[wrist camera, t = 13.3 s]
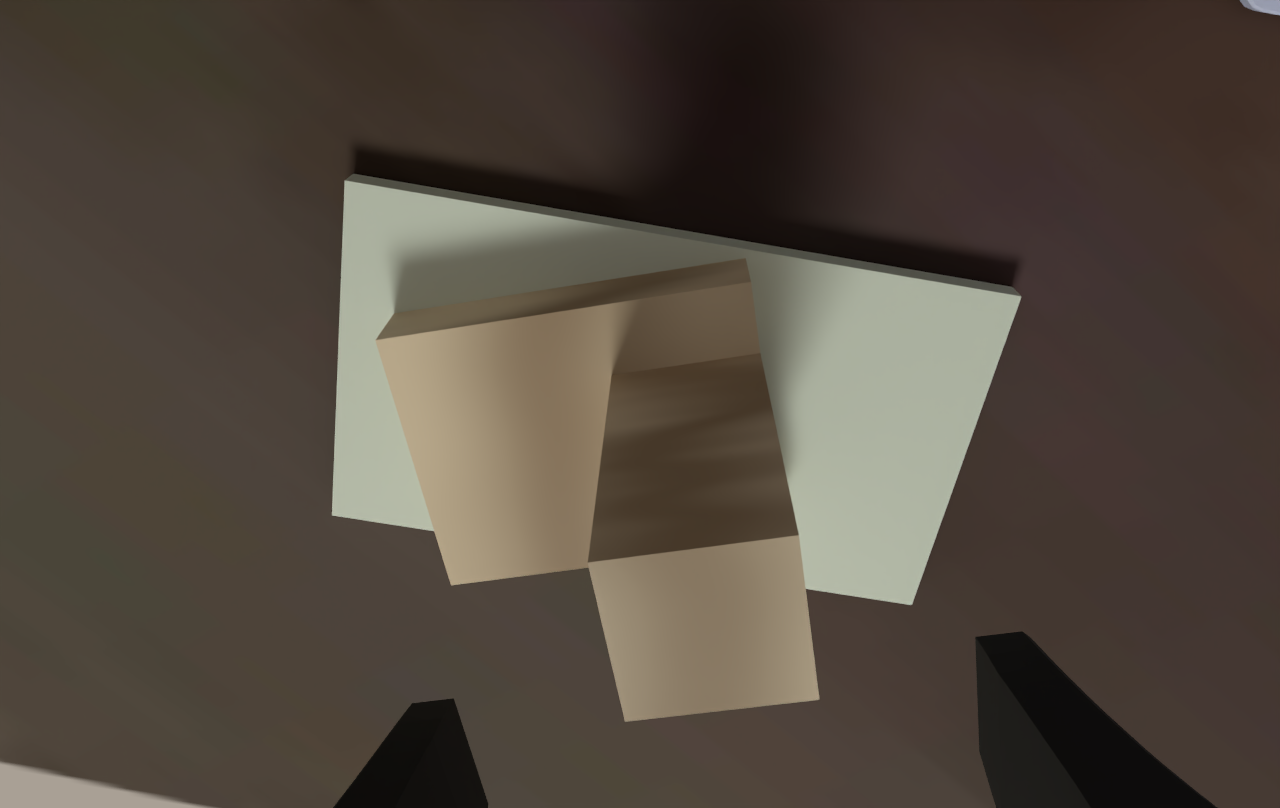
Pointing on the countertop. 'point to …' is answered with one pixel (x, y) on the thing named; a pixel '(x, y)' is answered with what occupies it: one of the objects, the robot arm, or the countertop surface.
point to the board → (789, 346)
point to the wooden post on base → (619, 473)
